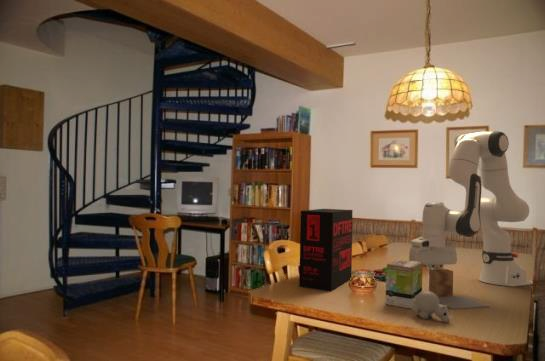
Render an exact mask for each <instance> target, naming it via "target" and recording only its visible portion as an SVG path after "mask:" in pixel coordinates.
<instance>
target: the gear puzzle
mask: <svg viewBox="0 0 545 361" xmlns="http://www.w3.org/2000/svg"><path fill="white" fill-rule="evenodd" d="M372 271H373V272H374V273H375V276H374V278H375V280H374V281H378V282H384V283H386V274H387V266H386V267H383V268H379V269H374V270H372Z"/></svg>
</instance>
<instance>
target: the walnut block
mask: <svg viewBox="0 0 545 361" xmlns="http://www.w3.org/2000/svg"><path fill="white" fill-rule="evenodd" d="M428 276H429V277H428V291H430V292H433V293H434V294H435V295H436V296H437V297H447V296H454V270H450V269H447V268H446V269H441V268H440V269H436V270H434V269H432V270H429V271H428Z"/></svg>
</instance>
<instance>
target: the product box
mask: <svg viewBox="0 0 545 361" xmlns="http://www.w3.org/2000/svg"><path fill="white" fill-rule="evenodd" d="M353 212H354V211H353V209H338V208H336V209H335V208H316V209H307V210H306V209H305V210H300V230H299V231H300V233H299V236H300V238H299V239H300V240H299V284H298V287H299V288H304V289H311V290H318V291H319V290H320V291H325V292H333V291H334V290H336V289H338V288H340V287H341V286H343V285H344V284H346V283H348V282H349V281H351V280H350V278H351V279H352V270H353V269H352V266H353V264H352V263H353V262H352V261H353V260H352V256H353Z"/></svg>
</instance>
